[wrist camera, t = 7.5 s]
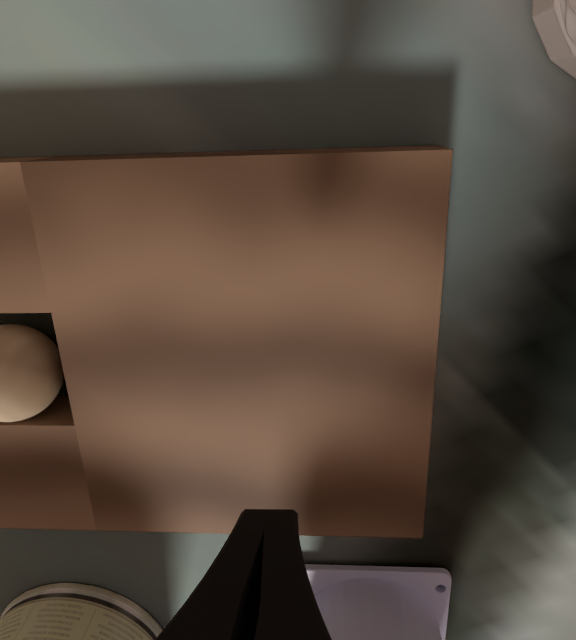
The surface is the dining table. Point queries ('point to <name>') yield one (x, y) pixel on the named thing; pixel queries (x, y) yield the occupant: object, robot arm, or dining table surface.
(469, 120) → the dining table surface
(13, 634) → the coffee can
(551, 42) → the white cup
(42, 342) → the ball
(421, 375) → the board
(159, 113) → the dining table surface
